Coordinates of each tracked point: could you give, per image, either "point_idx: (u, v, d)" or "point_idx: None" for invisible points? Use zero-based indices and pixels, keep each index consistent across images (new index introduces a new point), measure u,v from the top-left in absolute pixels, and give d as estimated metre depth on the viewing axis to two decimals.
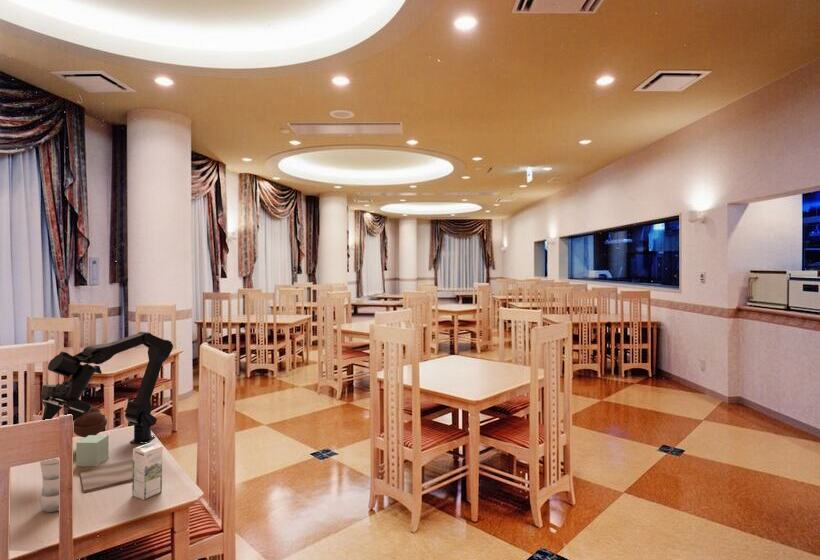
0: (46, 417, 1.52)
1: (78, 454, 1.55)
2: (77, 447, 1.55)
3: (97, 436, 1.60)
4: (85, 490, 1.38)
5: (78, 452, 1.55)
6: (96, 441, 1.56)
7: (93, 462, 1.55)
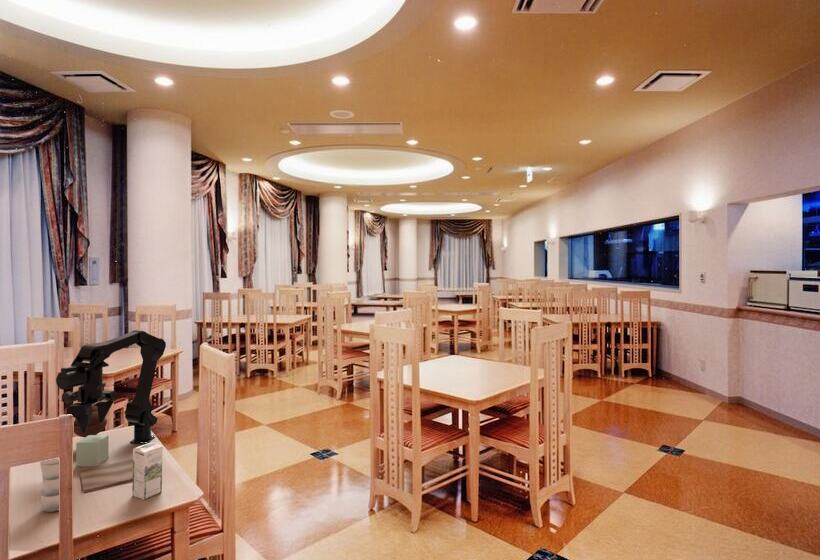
0: (100, 414, 1.62)
1: (78, 454, 1.55)
2: (77, 447, 1.55)
3: (97, 436, 1.60)
4: (85, 490, 1.38)
5: (78, 452, 1.55)
6: (96, 441, 1.56)
7: (93, 462, 1.55)
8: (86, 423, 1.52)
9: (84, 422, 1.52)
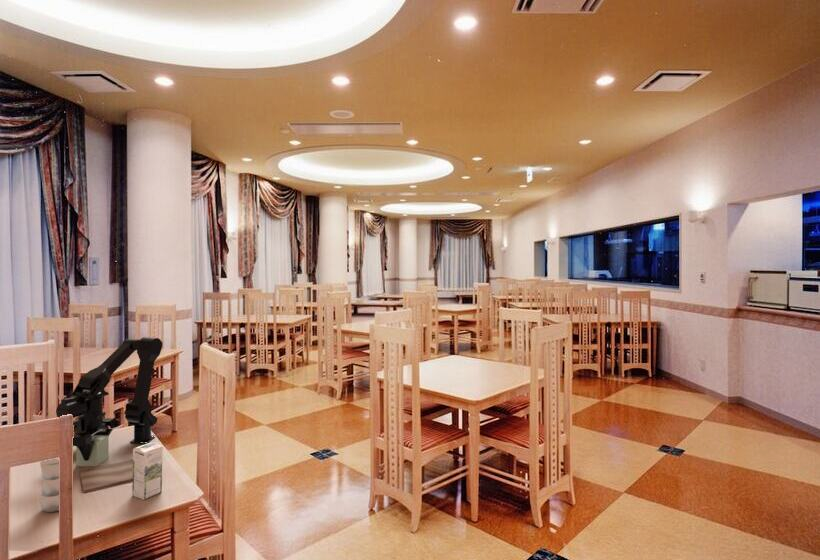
0: None
1: (78, 454, 1.55)
2: (77, 447, 1.55)
3: (97, 436, 1.60)
4: (85, 490, 1.38)
5: (78, 452, 1.55)
6: (96, 441, 1.56)
7: (93, 462, 1.55)
8: (89, 452, 1.54)
9: (86, 451, 1.53)
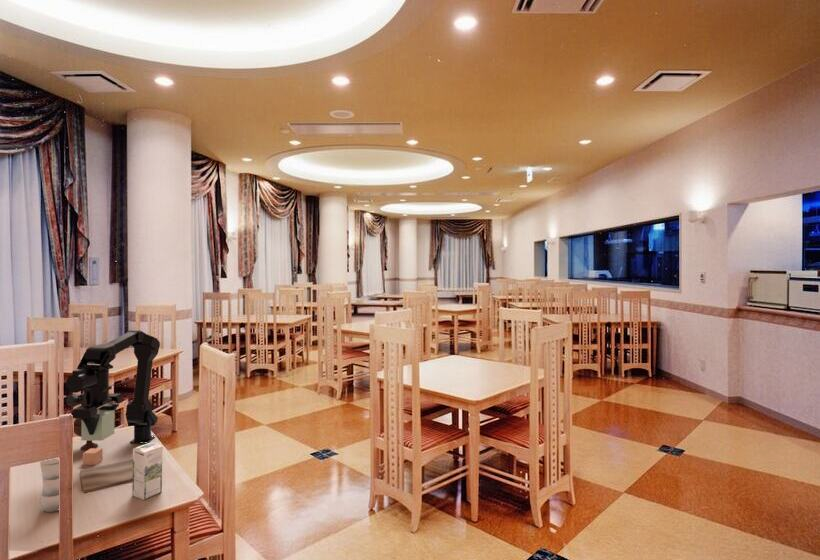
0: None
1: (83, 428, 1.51)
2: (82, 421, 1.51)
3: (103, 411, 1.56)
4: (85, 490, 1.38)
5: (83, 426, 1.51)
6: (101, 415, 1.52)
7: (98, 436, 1.51)
8: (94, 426, 1.50)
9: (91, 424, 1.49)
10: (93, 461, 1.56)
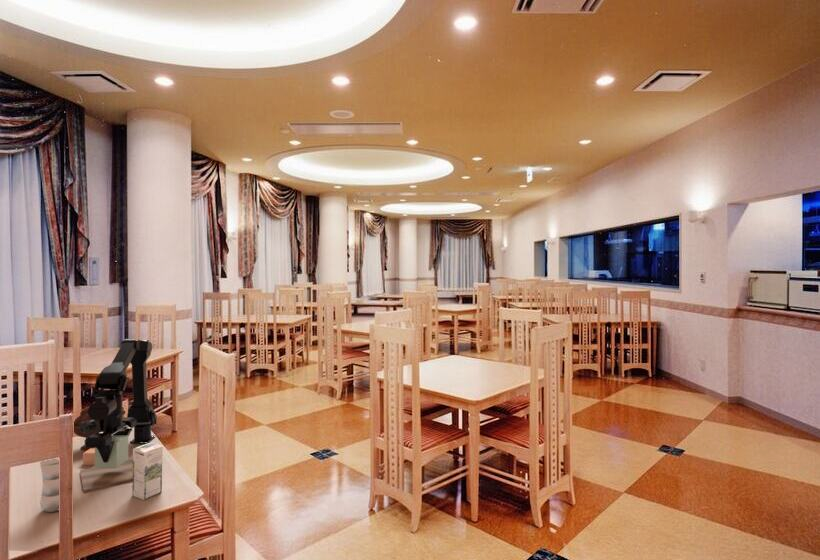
0: None
1: (96, 455, 1.45)
2: (96, 448, 1.45)
3: (116, 436, 1.51)
4: (85, 490, 1.38)
5: (97, 453, 1.45)
6: (116, 441, 1.47)
7: (113, 464, 1.46)
8: (108, 453, 1.44)
9: (106, 452, 1.44)
10: (93, 461, 1.56)
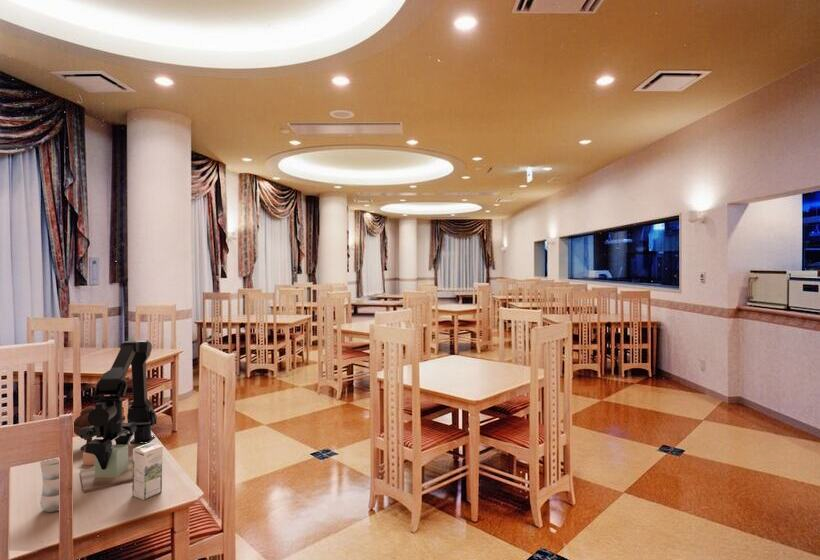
0: None
1: (96, 465, 1.45)
2: None
3: (116, 445, 1.51)
4: (85, 490, 1.38)
5: (97, 463, 1.45)
6: (116, 451, 1.47)
7: (113, 473, 1.46)
8: (106, 460, 1.44)
9: (104, 459, 1.43)
10: (93, 461, 1.56)
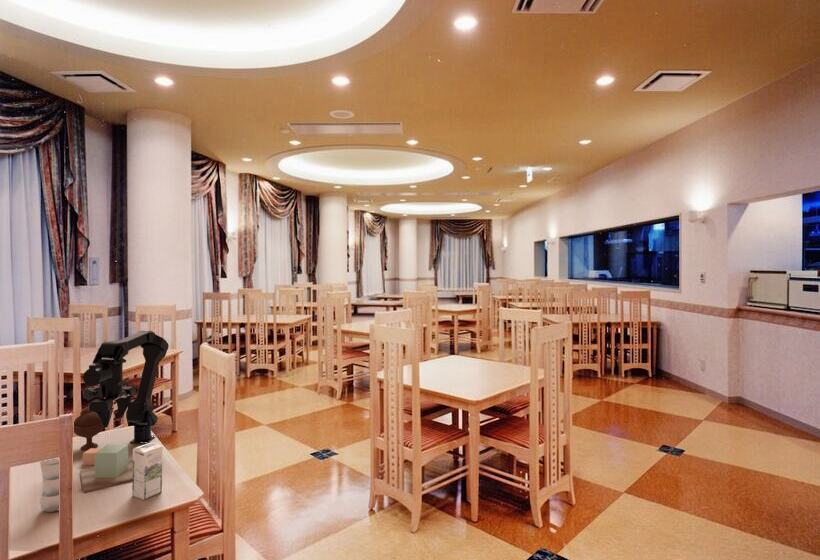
0: (120, 410, 1.65)
1: (96, 465, 1.45)
2: (96, 457, 1.45)
3: (116, 445, 1.51)
4: (85, 490, 1.38)
5: (97, 463, 1.45)
6: (116, 451, 1.47)
7: (113, 473, 1.46)
8: (108, 418, 1.55)
9: (106, 417, 1.55)
10: (93, 461, 1.56)
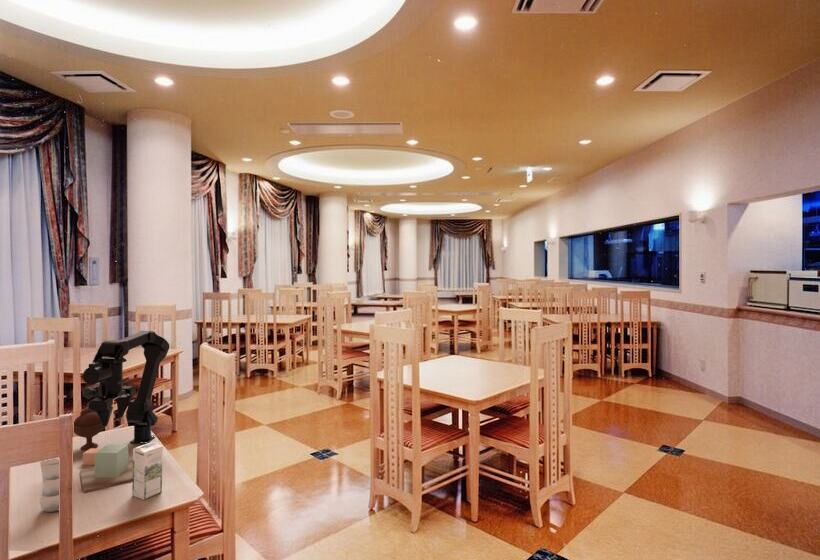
0: (120, 409, 1.66)
1: (96, 465, 1.45)
2: (96, 457, 1.45)
3: (116, 445, 1.51)
4: (85, 490, 1.38)
5: (97, 463, 1.45)
6: (116, 451, 1.47)
7: (113, 473, 1.46)
8: (107, 417, 1.55)
9: (105, 416, 1.55)
10: (93, 461, 1.56)
